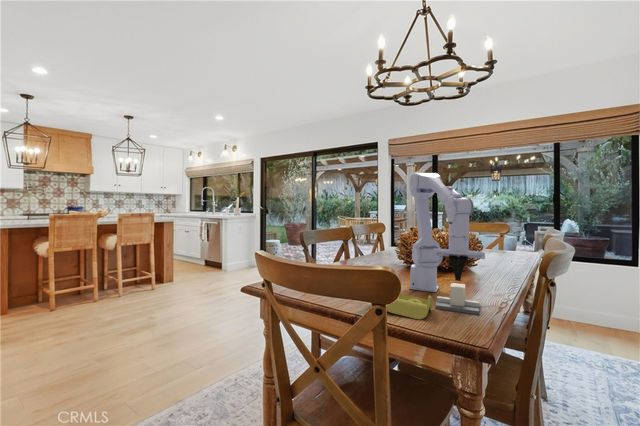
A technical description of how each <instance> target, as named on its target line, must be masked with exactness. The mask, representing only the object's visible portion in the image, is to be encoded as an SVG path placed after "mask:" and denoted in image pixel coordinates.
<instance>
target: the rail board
mask: <svg viewBox="0 0 640 426" xmlns="http://www.w3.org/2000/svg"><path fill="white" fill-rule="evenodd" d="M434 304H435V305H434V308H435V309H439V310H444V311H452V312H458V313H464V314H471V315H478V316H479V315H480V301H479V300H478V301H476V300H469V299H465V306H457V305H450V297H447V296H440V295H438V296H436V303H434Z"/></svg>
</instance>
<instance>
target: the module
mask: <svg viewBox="0 0 640 426" xmlns="http://www.w3.org/2000/svg"><path fill="white" fill-rule="evenodd" d="M449 298H450V305H457V306H465V300H466V284H465V283H458V282H457V283H454V282H451V284H450V287H449Z"/></svg>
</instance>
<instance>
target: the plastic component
mask: <svg viewBox="0 0 640 426" xmlns="http://www.w3.org/2000/svg"><path fill="white" fill-rule="evenodd" d="M399 294H400V296H399V298H398V299H397V300H396V301H395V302H394V303H392V304H390V305H388V306H387V311H386V312H388V313H391V314H395V315H397V316H402V317H406V318H411V319H415V320H423V319H425V318H426V317H427V316H428V314H429V311H431V310H432V309H433V305H434V299H433V297H432V295H428V298H427V299H426V298H421V297H417V296H414V295H412V296H411V295H410V294H409V295H408V294H404V293H403V294H402V293H399Z"/></svg>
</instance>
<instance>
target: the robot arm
mask: <svg viewBox="0 0 640 426" xmlns="http://www.w3.org/2000/svg"><path fill="white" fill-rule="evenodd" d="M409 190H410V195H411V197H413V198H414V207H415V217H416V218H415V219H416V224H417V225H416V226H417V235H418V240H417V241H416V242H414V243H413V244H412V251H411V252H412V253H411V259H412V262H413V264H411V266H410V272H409V275H410V276H409V289H410V290H415V291H423V292H432V293H437V291H438V290H439V288H440V286H439V285H438V282H437V281H438V279H437V277H438V275H437V274H438V267H439V266H440V264H441V263H442V262H443V257H448V261H449V263H450V265H451V267H452V270H453V274H454V279H455V280H454V281H457V282H460V281H462V273H463V271H464V268H465V266H466V264H467V262H468V260H469V259H471V258H472V259H480V260H485V258H486V252H485V251H477V250H469V249H470V248H469V247H470V246H469V245H470V242H469V241H470V216H471V215H473V213H474V209H475V207H474V206H475V205H474V202H473V199H471V198H470V197H468V196H467V197H466V196H465V197H462V195H461V194H460V193H459V192H457V191H456V189H454V187H453V186H450V185H447V186H446V185H445V184H444V183H443V182H442V181H441V175H439V173H437V172H413V173H412V174H411V176H410V178H409ZM435 193H436V194H437V195H436V196H437V197H436V198H437V199H438V201H439V202H440V203H441V204H442V206H444V210H445V214H446V220H447V222H448V248H441V245H440V243H439V242H438V241H436V240H435V239H434V238H433V230H432V223H431V214H430V205H429V198H430V197H432V196H434V194H435Z"/></svg>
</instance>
